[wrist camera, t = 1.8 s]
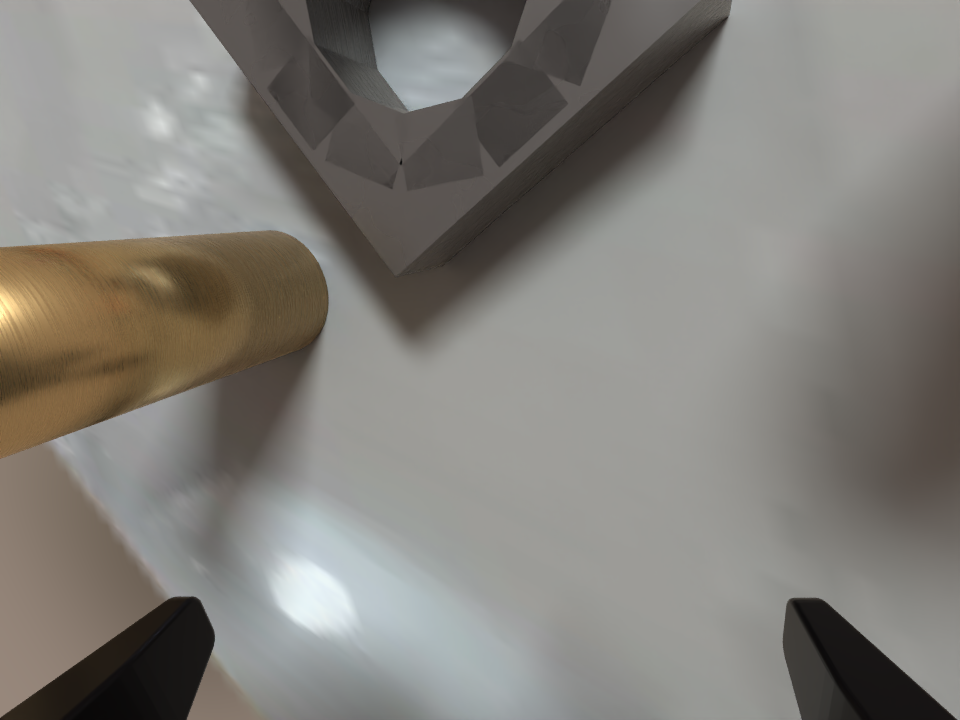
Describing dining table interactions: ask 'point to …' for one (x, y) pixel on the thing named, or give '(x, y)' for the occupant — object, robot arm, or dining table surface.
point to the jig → (449, 107)
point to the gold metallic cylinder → (143, 323)
